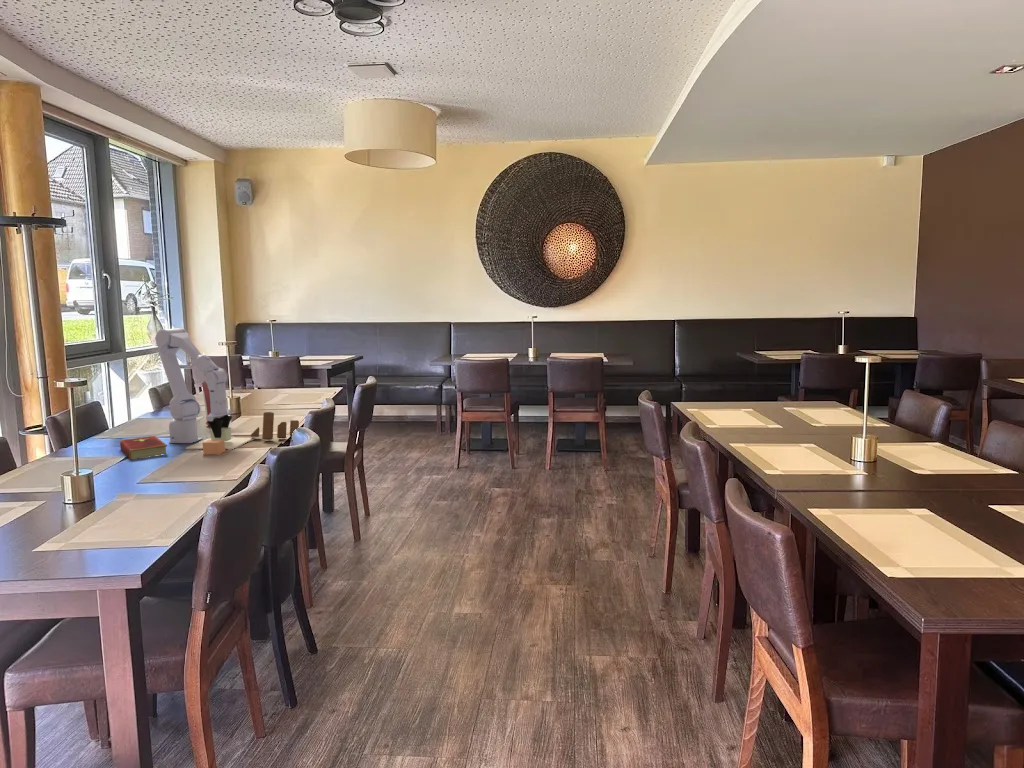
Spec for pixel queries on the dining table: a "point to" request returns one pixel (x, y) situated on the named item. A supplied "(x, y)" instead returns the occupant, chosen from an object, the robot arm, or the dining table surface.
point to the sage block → (222, 434)
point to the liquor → (206, 399)
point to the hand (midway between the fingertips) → (220, 436)
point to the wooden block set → (268, 427)
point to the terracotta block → (213, 447)
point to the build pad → (229, 444)
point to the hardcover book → (143, 447)
